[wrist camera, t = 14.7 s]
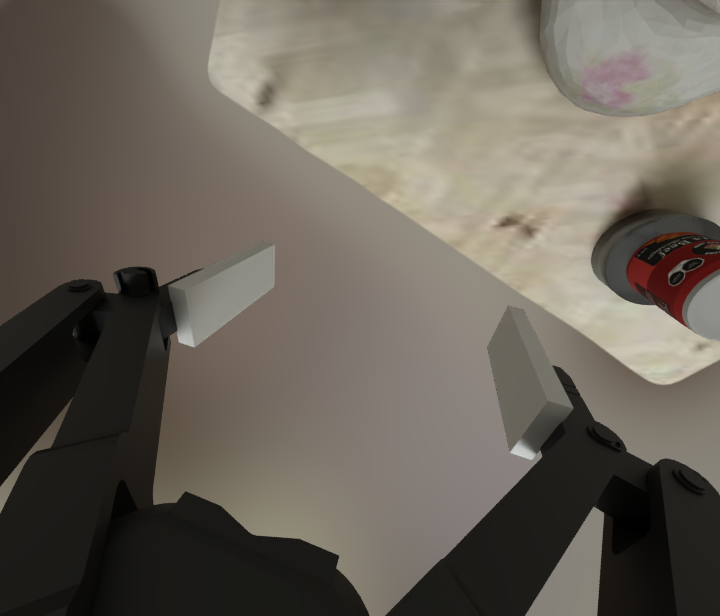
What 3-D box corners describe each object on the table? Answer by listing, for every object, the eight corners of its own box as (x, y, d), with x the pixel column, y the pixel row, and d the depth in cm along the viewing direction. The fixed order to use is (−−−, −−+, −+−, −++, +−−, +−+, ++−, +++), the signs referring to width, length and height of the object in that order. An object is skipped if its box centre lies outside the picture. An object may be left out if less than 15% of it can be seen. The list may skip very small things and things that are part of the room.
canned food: (714, 223, 31) (830, 252, 22) (698, 289, 34) (794, 339, 25) (627, 237, 34) (697, 268, 24) (619, 297, 37) (679, 345, 28)
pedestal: (622, 201, 36) (645, 207, 32) (719, 220, 35) (758, 229, 30) (575, 278, 42) (589, 292, 38) (657, 298, 40) (682, 315, 36)
